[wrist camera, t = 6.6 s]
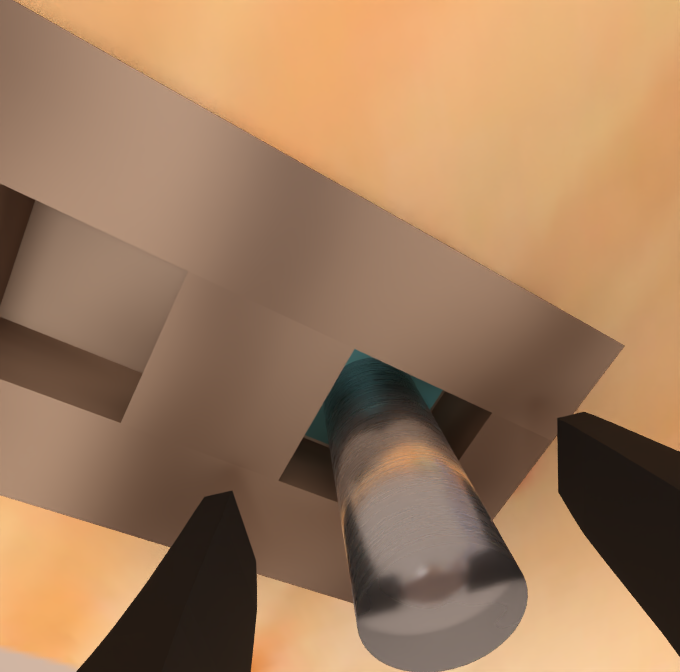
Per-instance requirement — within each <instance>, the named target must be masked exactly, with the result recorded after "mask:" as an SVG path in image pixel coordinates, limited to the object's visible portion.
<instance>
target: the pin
mask: <svg viewBox="0 0 680 672" xmlns="http://www.w3.org/2000/svg"><path fill="white" fill-rule="evenodd" d="M323 409H324V415H325V422H326V428H327V434H328V441H329V447H330V454H331V460H332V467H333V473H334V480H335V486H336V493H337V499H338V506H339V512H340V519H341V525H342V532H343V538H344V545H345V551H346V557H347V564H348V570H349V577H350V583H351V590H352V596H353V603H354V609H355V616H356V622H357V628H358V633H359V636H360V639H361V641H362V643H363V645H364V646H365V648H366V649H367V650H368V651H369V652H370V653H371V654H372V655H373V656H374V657H375V658H376V659H378V660H379V661H381V662H383V663H385V664H386V665H389V666H391V667H394V668H397V669H401V670H404V671H411V672H438V671H445V670H450V669H454V668H458V667H461V666H464V665H467V664H469V663H472V662H474V661H476V660H478V659H480V658H482V657H484V656H486V655H487V654H489V653H490V652H492V651H493V650H495V649H496V648H497V647H498V646H500V645H501V644H502V643H503V642H504V641H505V640H506V639H507V638H508V637H509V636H510V635H511V634H512V633H513V631H514V630H515V629H516V627H517V626H518V624H519V623H520V621H521V619H522V617H523V615H524V612H525V609H526V606H527V598H528V592H527V585H526V581H525V579H524V576H523V574H522V572H521V570H520V569H519V567H518V565H517V563H516V562H515V560H514V558H513V556H512V554H511V553H510V551H509V549H508V547H507V546H506V544H505V542H504V540H503V539H502V537H501V535H500V533H499V531H498V530H497V528H496V526H495V524H494V523H493V521H492V519H491V517H490V516H489V514H488V512H487V510H486V509H485V507H484V505H483V503H482V501H481V500H480V498H479V496H478V494H477V493H476V491H475V489H474V487H473V486H472V484H471V482H470V480H469V478H468V477H467V475H466V473H465V471H464V470H463V468H462V466H461V464H460V463H459V461H458V459H457V457H456V456H455V454H454V452H453V450H452V448H451V447H450V445H449V443H448V441H447V440H446V438H445V436H444V434H443V433H442V431H441V429H440V427H439V426H438V424H437V422H436V420H435V418H434V417H433V415H432V413H431V411H430V410H429V408H428V406H427V404H426V403H425V401H424V399H423V397H422V395H421V394H420V392H419V390H418V388H417V387H416V385H415V383H414V381H413V380H412V378H411V376H410V375H409V374H408V373H406V372H403V371H401V370H399V369H397V368H395V367H393V366H391V365H388V364H386V363H384V362H382V361H380V360H378V359H375V358H365V359H360V360H357V361H354V362H352V363H350V364H348V365H346V366H345V367H344V368H343V370H342V371H341V373H340V375H339V377H338V378H337V380H336V382H335V383H334V385H333V387H332V389H331V390H330V392H329V394H328V396H327V397H326V399H325V401H324V402H323Z"/></svg>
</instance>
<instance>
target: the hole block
mask: <svg viewBox="0 0 680 672" xmlns="http://www.w3.org/2000/svg"><path fill="white" fill-rule="evenodd" d="M623 348H624V345H623V344H621V343H619V342H617V341H615V340H614V339H612V338H610V337H608V336H607V335H605V334H603V333H601V332H600V331H598V330H596V329H594V328H593V327H591V326H589V325H587V324H585V323H584V322H582V321H580V320H578V319H577V318H575V317H573V316H571V315H570V314H568V313H566V312H564V311H563V310H561V309H559V308H557V307H555V306H554V305H552V304H550V303H548V302H547V301H545V300H543V299H541V298H540V297H538V296H536V295H534V294H532V293H531V292H529V291H527V290H525V289H524V288H522V287H520V286H518V285H516V284H515V283H513V282H511V281H509V280H508V279H506V278H504V277H502V276H501V275H499V274H497V273H495V272H493V271H492V270H490V269H488V268H486V267H485V266H483V265H481V264H479V263H478V262H476V261H474V260H472V259H470V258H469V257H467V256H465V255H463V254H462V253H460V252H458V251H456V250H454V249H453V248H451V247H449V246H447V245H446V244H444V243H442V242H440V241H439V240H437V239H435V238H433V237H431V236H430V235H428V234H426V233H424V232H423V231H421V230H419V229H417V228H415V227H414V226H412V225H410V224H408V223H407V222H405V221H403V220H401V219H400V218H398V217H396V216H394V215H392V214H391V213H389V212H387V211H385V210H384V209H382V208H380V207H378V206H377V205H375V204H373V203H371V202H369V201H368V200H366V199H364V198H362V197H361V196H359V195H357V194H355V193H353V192H352V191H350V190H348V189H346V188H345V187H343V186H341V185H339V184H338V183H336V182H334V181H332V180H330V179H329V178H327V177H325V176H323V175H322V174H320V173H318V172H316V171H315V170H313V169H311V168H309V167H307V166H306V165H304V164H302V163H300V162H299V161H297V160H295V159H293V158H291V157H290V156H288V155H286V154H284V153H283V152H281V151H279V150H277V149H276V148H274V147H272V146H270V145H268V144H267V143H265V142H263V141H261V140H260V139H258V138H256V137H254V136H252V135H251V134H249V133H247V132H245V131H244V130H242V129H240V128H238V127H237V126H235V125H233V124H231V123H229V122H228V121H226V120H224V119H222V118H221V117H219V116H217V115H215V114H214V113H212V112H210V111H208V110H206V109H205V108H203V107H201V106H199V105H198V104H196V103H194V102H192V101H190V100H189V99H187V98H185V97H183V96H182V95H180V94H178V93H176V92H175V91H173V90H171V89H169V88H167V87H166V86H164V85H162V84H160V83H159V82H157V81H155V80H153V79H152V78H150V77H148V76H146V75H144V74H143V73H141V72H139V71H137V70H136V69H134V68H132V67H130V66H128V65H127V64H125V63H123V62H121V61H120V60H118V59H116V58H114V57H113V56H111V55H109V54H107V53H105V52H104V51H102V50H100V49H98V48H97V47H95V46H93V45H91V44H89V43H88V42H86V41H84V40H82V39H81V38H79V37H77V36H75V35H74V34H72V33H70V32H68V31H66V30H65V29H63V28H61V27H59V26H58V25H56V24H54V23H52V22H51V21H49V20H47V19H45V18H43V17H42V16H40V15H38V14H36V13H35V12H33V11H31V10H29V9H27V8H26V7H24V6H22V5H20V4H19V3H17V2H15V1H13V0H0V495H1V496H5V497H8V498H11V499H14V500H18V501H21V502H24V503H27V504H31V505H34V506H37V507H40V508H44V509H47V510H50V511H54V512H57V513H60V514H63V515H67V516H70V517H73V518H76V519H80V520H83V521H86V522H89V523H93V524H96V525H99V526H103V527H106V528H109V529H112V530H116V531H119V532H122V533H125V534H129V535H132V536H135V537H139V538H142V539H145V540H148V541H152V542H155V543H158V544H161V545H165V546H168V547H171V546H172V545H173V543H174V542H175V540H176V539H177V537H178V536H179V534H180V533H181V531H182V530H183V528H184V526H185V525H186V523H187V522H188V520H189V519H190V517H191V516H192V514H193V513H194V511H195V510H196V508H197V507H198V505H199V504H200V502H201V501H202V499H203V498H204V497H205V496H210V495H214V494H219V493H223V492H228V491H233V494H234V497H235V500H236V503H237V506H238V509H239V511H240V514H241V517H242V520H243V523H244V526H245V529H246V532H247V535H248V538H249V541H250V544H251V547H252V550H253V553H254V556H255V559H256V568H257V574H259V575H263V576H266V577H269V578H273V579H276V580H279V581H282V582H286V583H289V584H292V585H295V586H299V587H302V588H305V589H308V590H312V591H315V592H318V593H322V594H325V595H328V596H331V597H335V598H338V599H341V600H344V601H348V602H351V603H353V596H352V590H351V583H350V577H349V570H348V564H347V557H346V551H345V545H344V538H343V532H342V525H341V519H340V512H339V506H338V499H337V493H336V486H335V480H334V473H333V467H332V460H331V454H330V447H329V441H328V434H327V428H326V422H325V415H324V409H323V402H324V401H325V399H326V397H327V396H328V394H329V392H330V390H331V389H332V387H333V385H334V383H335V382H336V380H337V378H338V377H339V375H340V373H341V371H342V370H343V368H344V367H345V366H346V365H348V364H350V363H352V362H354V361H357V360H360V359H365V358H375V359H378V360H380V361H382V362H384V363H386V364H388V365H391V366H393V367H395V368H397V369H399V370H401V371H403V372H406V373H408V374H409V375H410V376H411V378H412V380H413V381H414V383H415V385H416V387H417V388H418V390H419V392H420V394H421V395H422V397H423V399H424V401H425V403H426V404H427V406H428V408H429V410H430V411H431V413H432V415H433V417H434V418H435V420H436V422H437V424H438V426H439V427H440V429H441V431H442V433H443V434H444V436H445V438H446V440H447V441H448V443H449V445H450V447H451V448H452V450H453V452H454V454H455V456H456V457H457V459H458V461H459V463H460V464H461V466H462V468H463V470H464V471H465V473H466V475H467V477H468V478H469V480H470V482H471V484H472V486H473V487H474V489H475V491H476V493H477V494H478V496H479V498H480V500H481V501H482V503H483V505H484V507H485V509H486V510H487V512H488V514H489V516H490V517H491V519H492V520H493V519H494V517H495V516H496V515H497V513H498V512H499V511H500V509H501V508H502V507H503V505H504V504H505V503H506V502H507V500H508V499H509V498H510V496H511V495H512V494H513V492H514V491H515V490H516V488H517V487H518V486H519V484H520V483H521V482H522V480H523V479H524V478H525V477H526V475H527V474H528V473H529V471H530V470H531V469H532V467H533V466H534V465H535V463H536V462H537V461H538V459H539V458H540V457H541V455H542V454H543V453H544V452H545V450H546V449H547V448H548V446H549V445H550V444H551V442H552V441H553V440H554V438H555V437H556V436H557V418H559V417H564V416H568V415H573V413H574V412H575V411H576V409H577V408H578V407H579V405H580V404H581V403H582V401H583V400H584V399H585V398H586V396H587V395H588V394H589V392H590V391H591V390H592V388H593V387H594V386H595V384H596V383H597V382H598V380H599V379H600V378H601V376H602V375H603V374H604V373H605V371H606V370H607V369H608V367H609V366H610V365H611V363H612V362H613V361H614V359H615V358H616V357H617V355H618V354H619V353H620V351H621V350H622V349H623Z"/></svg>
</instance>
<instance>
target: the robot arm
mask: <svg viewBox="0 0 680 672" xmlns="http://www.w3.org/2000/svg"><path fill="white" fill-rule="evenodd" d="M557 437H558V492H559V494H560V496H561V497H562V499H563V501H564V502H565V504H566V506H567V508H568V509H569V511H570V513H571V514H572V516H573V518H574V519H575V521H576V522H577V524H578V525H579V527H580V529H581V530H582V532H583V533H584V535H585V536H586V537H587V539H588V540H589V541H590V543H591V544H592V545H593V546H594V548H595V549H596V550H597V552H598V553H599V554H600V555H601V557H602V558H603V559H604V560H605V562H606V563H607V564H608V566H609V567H610V568H611V569H612V571H613V572H614V573H615V574H616V576H617V577H618V578H619V579H620V581H621V582H622V583H623V584H624V586H625V587H626V588H627V589H628V591H629V592H630V593H631V594H632V596H633V597H634V598H635V599H636V601H637V602H638V603H639V604H640V606H641V607H642V608H643V610H644V611H645V612H646V613H647V615H648V616H649V617H650V618H651V620H652V621H653V622H654V623H655V625H656V626H657V627H658V628H659V630H660V631H661V632H662V633H663V635H664V636H665V637H666V639H667V640H668V642H669V643H670V644H671V646H672V647H673V648H674V650H675V651H676V652H677V654H678V655H679V656H680V452H679V451H677V450H674V449H672V448H670V447H667V446H665V445H662V444H660V443H658V442H655V441H653V440H651V439H648V438H646V437H644V436H642V435H639V434H637V433H635V432H632V431H630V430H628V429H625V428H623V427H621V426H618V425H616V424H614V423H611V422H609V421H606V420H604V419H602V418H599V417H597V416H594V415H591V414H589V413H586V412H582V413H577V414H573V415H568V416H564V417H559V418H557ZM256 614H257V568H256V559H255V556H254V553H253V550H252V547H251V544H250V541H249V538H248V535H247V532H246V529H245V526H244V523H243V520H242V517H241V514H240V511H239V509H238V506H237V503H236V500H235V497H234V494H233V491H228V492H223V493H219V494H214V495H210V496H205V497H204V498H203V499H202V501H201V502H200V504H199V505H198V507H197V508H196V510H195V511H194V513H193V514H192V516H191V517H190V519H189V520H188V522H187V523H186V525H185V526H184V528H183V530H182V531H181V533H180V534H179V536H178V537H177V539H176V540H175V542H174V543H173V545H172V546H171V548H170V549H169V551H168V552H167V554H166V555H165V557H164V558H163V560H162V561H161V563H160V564H159V565H158V567H157V568H156V570H155V571H154V573H153V574H152V576H151V577H150V579H149V580H148V581H147V583H146V584H145V586H144V587H143V588H142V590H141V591H140V593H139V594H138V595H137V597H136V598H135V599H134V601H133V602H132V603H131V605H130V606H129V607H128V609H127V610H126V611H125V613H124V614H123V615H122V617H121V618H120V619H119V621H118V622H117V623H116V625H115V626H114V627H113V628H112V630H111V631H110V632H109V633H108V635H107V636H106V637H105V638H104V640H103V641H102V642H101V643H100V645H99V646H98V647H97V648H96V649H95V651H94V652H93V653H92V654H91V655H90V657H89V658H88V659H87V660H86V661H85V662H84V663H83V665H82V666H81V667H80V668H79V669H78V670H77V672H251V663H252V654H253V644H254V634H255V624H256Z"/></svg>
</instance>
